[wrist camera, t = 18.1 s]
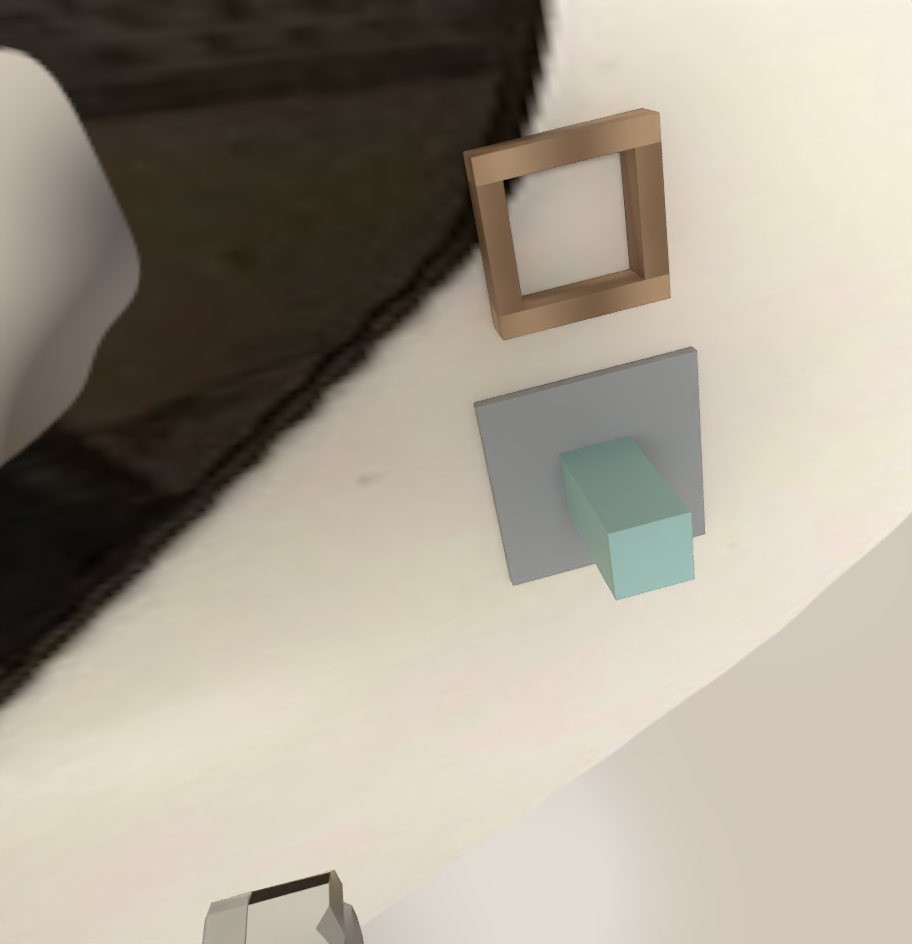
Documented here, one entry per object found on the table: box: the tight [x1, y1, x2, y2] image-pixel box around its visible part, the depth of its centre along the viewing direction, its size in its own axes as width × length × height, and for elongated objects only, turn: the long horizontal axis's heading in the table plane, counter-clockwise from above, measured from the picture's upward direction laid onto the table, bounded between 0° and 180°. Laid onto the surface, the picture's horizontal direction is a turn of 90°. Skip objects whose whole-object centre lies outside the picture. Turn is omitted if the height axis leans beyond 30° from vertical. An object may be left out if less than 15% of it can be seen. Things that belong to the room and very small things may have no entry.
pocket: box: [463, 108, 671, 340], centre depth 37 cm, size 8×8×2 cm
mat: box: [474, 347, 705, 586], centre depth 45 cm, size 12×12×1 cm
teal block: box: [559, 436, 695, 600], centre depth 41 cm, size 4×4×8 cm
